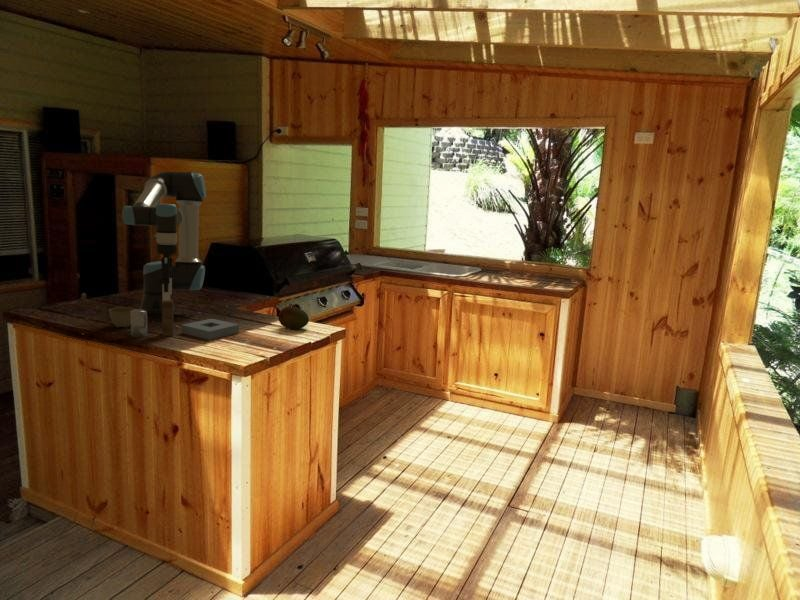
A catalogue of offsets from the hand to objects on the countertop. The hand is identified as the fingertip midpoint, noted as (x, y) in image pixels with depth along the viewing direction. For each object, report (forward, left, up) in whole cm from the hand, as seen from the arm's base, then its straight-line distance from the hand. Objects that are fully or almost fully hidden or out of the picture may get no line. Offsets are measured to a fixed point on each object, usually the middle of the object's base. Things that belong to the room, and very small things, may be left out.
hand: (167, 297), depth 239 cm
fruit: (+30, +42, -16) cm, 54 cm away
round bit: (-7, -8, -16) cm, 19 cm away
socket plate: (+10, +13, -15) cm, 23 cm away
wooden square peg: (0, 0, -16) cm, 16 cm away
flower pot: (-24, -3, -16) cm, 29 cm away
